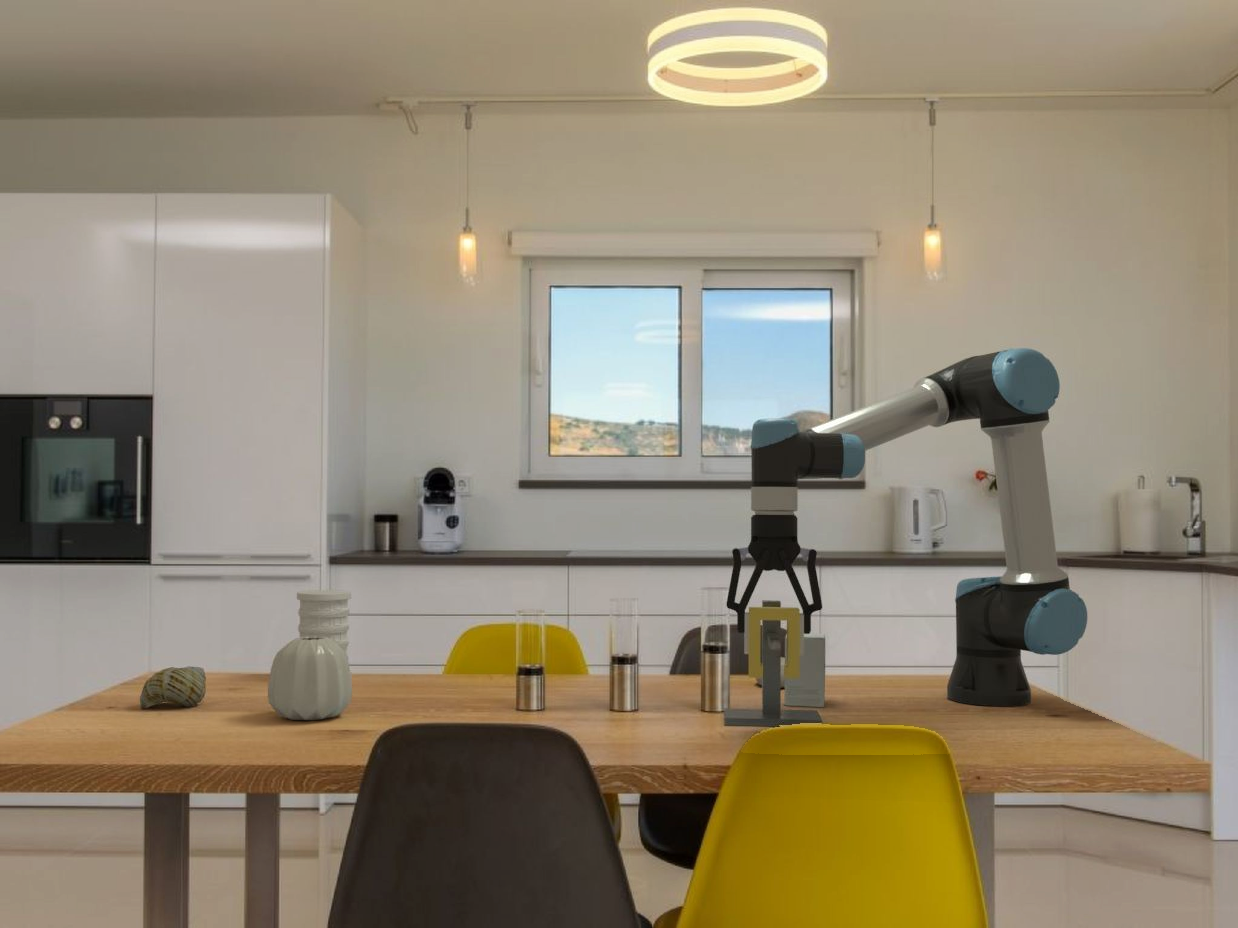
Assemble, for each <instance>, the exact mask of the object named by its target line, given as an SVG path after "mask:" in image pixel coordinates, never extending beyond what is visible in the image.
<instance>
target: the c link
mask: <svg viewBox="0 0 1238 928" xmlns="http://www.w3.org/2000/svg"><path fill="white" fill-rule="evenodd" d="M748 612H749V654H748V677H749V678H755V677H761V678H763V665H762V662H761V646H762V637H761V636H762V620H781V621H785V622H786V634H787V664H784V675H785V678H799V613H800V608H799V607H791V606H790V607H785V606H783V607H782V606H781V607H762V606H749V607H748Z"/></svg>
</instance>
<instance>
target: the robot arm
mask: <svg viewBox="0 0 1238 928" xmlns="http://www.w3.org/2000/svg"><path fill="white" fill-rule="evenodd" d="M1060 386H1061V385H1060V378H1059V375H1058V372H1057V369H1056V368H1055V365H1053V363H1052V361H1051V360H1050V359H1049V358H1048V357H1046V356H1045V355H1044V354H1043V353H1041V352H1040V351H1038V350H1036V349H1032V348H1027V347H1026V348H1025V347H1024V348H1009V349H1004V350H1003V349H1002V350H1001V351H994V352H991V353H987V354H981V355H973V356H971V357H970V356H969V357H966V358H964V359H962V360H959V361H958V362H955V363H952V364H951V365H948V366H947V367H945V368H942V369H940V370H939V371H938V370H937V371H936V372H934V373H932V374H930V375H928V376H925V377H922V378H920V379H918V380H917V381H916V382H915V384H914V386H913V387H912V388H910V389H907V390H904V391H901V392H900V393H896V394H894V395H891V396H888V397H886V398H884V399H881V400H877V401H876V402H874V403H871V404H869V405H865V406H863V407H861V408H858V409H855V410H853V411H850V412H848V413H845V414H843V415H839V416H838V417H835V418H832V419H830V420H827V421H825V422H823V423H819V424H817V425H815V426H812V427H809V428H807V429H806V430H802V431H800V429H799V425H798V422H797V420H795V419H794V418H793V419H792V418H761V419H757V420H756V421H754V422H753V424H752V429H751V439H750V440H751V442H750V447H749V448H750V449H751V452H750V453H751V455H750V456H751V488H750V489H751V490H750V492H751V493H750V494H751V495H750V500H751V503H750V504H751V505H750V510H751V511H752V512H754V514H751V515H752V516H750V521H751V522H750V542H749V544H748V545H747V547H739V548H737V547H734V548H733V549H732V551H731V552H732V558H733V566H732V572H731V576H730V577H731V578H730V581H729V582H730V583H729V587H728V588H729V589H728V594H727V599H726V608H727V609H729V610H732V611H735V612H736V614H737V617H736V619H737V620H736V621H737V623H736V624H737V625H736V628H737V632H738V633H739V634H743V635H744V636H743V641H744V642H743V643H744V646H743V647H744V648H743V650H744V651H743V653H744V655H749V611H746V609H747V607H748V605H749V603H750V600H751V598H752V595H753V593H754V591H755V589H756V586H757V585H758V582H759V581H760V578H761V576H762V573H763V572H764V571H765V572H769V571H774V570H775V571H777V572H778V571H779V572H785V573H786V575H787V578H788V580H789V582H790V585H791V586H792V589H793V592H794V594H795V596H796V598H797V600H798V602H799V605H800V608H801V610H802V612H799V655H804V634H810V633H811V631H812V614H813V613H815V612H817V611H818V612H819V611H821V610H822V609H823V602H822V597H821V592H820V591H821V590H820V585H819V579H818V574H817V568H816V561H817V554H818V553H817V550H816V549H814V548H810V549H809V548H804V547H801V546H800V544H799V541H798V540H799V539H798V516H797V515H795V512H797V511H799V509H798V506H799V505H798V504H799V503H798V500H799V499H798V493H799V492H798V490H799V489H798V487H799V486H798V481H799V480H813V479H817V480H818V479H838V480H843V479H853V478H856V477H858V476H859V475H860V474H861V473H862V471H863V469H864V466H865V464H866V451H868V450H871V449H874V448H876V447H878V446H880V445H884V444H886V443H889V442H891V441H893V440H896V439H898V438H901V437H903V436H905V435H908V434H911V433H913V432H916V431H918V430H921V429H923V428H926V427H929V426H931V427H933V428H941V427H943V426H945V425H948V424H950V423H951V424H952V423H955V422H960V421H968V420H975V419H976V420H979V423H980V430H981V431H982V432H983V433H985V434H986V435H987V436H989V438H990V441H991V447H992V457H993V463H994V464H993V466H994V472H995V473H994V474H995V482H996V489H997V497H998V505H999V514H1000V521H1001V529H1002V530H1001V531H1002V532H1001V533H1002V539H1003V546H1004V555H1005V563H1006V570H1005V572H1004V573H1003V575H1002V576H986V577H973V578H965V579H961V580H960V581H958V583H957V585H956V591H955V599H954V602H955V624H956V625H955V628H956V630H955V634H956V636H955V639H956V645H955V646H956V658H955V661H954V663H953V667H952V670H951V673H950V676H949V679H948V682H947V687H946V698H947V699H949V700H951V701H954V702H959V703H962V704H963V703H964V704H970V705H978V706H991V707H1009V706H1011V707H1012V706H1013V707H1015V706H1023V705H1028V704H1030V703H1032V690H1031V686H1030V684H1029V681H1028V677H1027V675H1026V672H1025V669H1024V668H1025V667H1024V665H1023V663H1022V651H1026V652H1031V653H1033V654H1036V655H1045V656H1046V655H1050V656H1053V655H1054V656H1055V655H1056V656H1057V655H1058V656H1059V655H1063V654H1065V653H1067V652H1069V651H1070V650H1073V648H1075V647H1076V645H1078V644H1079V640H1080V639H1082V638H1083V637H1084V634H1085V632H1086V629H1087V625H1088V609H1087V606H1086V604H1085V601H1084V599H1083V598H1082V597H1080V596H1079V594H1078V593H1077V592H1075V591H1073V590H1072V589H1070V588H1071V587H1070V580H1069V574H1068V573H1067V572H1066V571H1064V569H1062V568H1060V567H1059V565H1058V556H1057V548H1056V541H1055V540H1056V539H1055V533H1054V525H1053V516H1052V507H1051V499H1050V491H1049V485H1048V484H1049V482H1048V475H1047V467H1046V466H1047V465H1046V459H1045V450H1044V448H1045V447H1044V441H1043V431H1044V429H1045V428H1046V426H1047V425H1048V424H1049V423H1050V414H1049V410H1050V409H1051V408H1052V407H1053V406H1054V405H1055V404H1056V399H1058V398H1059V395H1060ZM748 554H749V555H750V556H751V558H752V559H753V560H754V562H755V563H756V565H755V567H754V569H753V572H752V574H751V576H750V578H749V581H748V582H747V586H746V587H745V590H744V592H743V595H742V596H741V599H740V601H739V602H736V597H737V591H738V585H739V581H740V575H741V574H740V573H741V568H742V562H743V561H745V559H747V558H746V557H747V555H748ZM799 555H801V556H802V560H803V561H804V562H805V563H806V569H807V575H808V582H809V587H810V592H811V597H812V603H811V604H810V603H809V602H808V600H807V597H806V595H805V593H804V589H803V588H802V585H801V583H800V581H799V579H798V577H797V574H796V572H795V569H794V568H793V567H794V566H793V565H792V564H793V563H794V562H795V560H796V559H797V558H798V556H799Z"/></svg>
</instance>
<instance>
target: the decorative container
mask: <svg viewBox="0 0 1238 928" xmlns="http://www.w3.org/2000/svg"><path fill="white" fill-rule="evenodd" d="M296 592H297V591H296ZM350 599H352V591H349V590H338V589H336V590H333V589H331V590H330V589H329V590H328V589H326V590H325V589H321V590H320V589H319V590H318V589H317V590H303V591H298V592H297V593H296V600H298V601H299V609H298V612H297V613H298V616H299V624H298V626H297V630H298V632H299V638H301V637H326V638H329V639H330V640H332V641H334V642H335V643H336V644H338V645H339V646H340V647H341V648H342V649H343V650H344V651H345V653H346V656H347V658H348V659H349V656H348V651H347V650H348V647H349V642H350V641H349V639H348V631H349V630H350V629H349V628H350V627H349V626H350V625H349V622H348V617H349V614H350V609H349V608H348V603H349V602H348V601H349V600H350ZM350 673H351V677H352V672H351V671H350Z"/></svg>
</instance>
